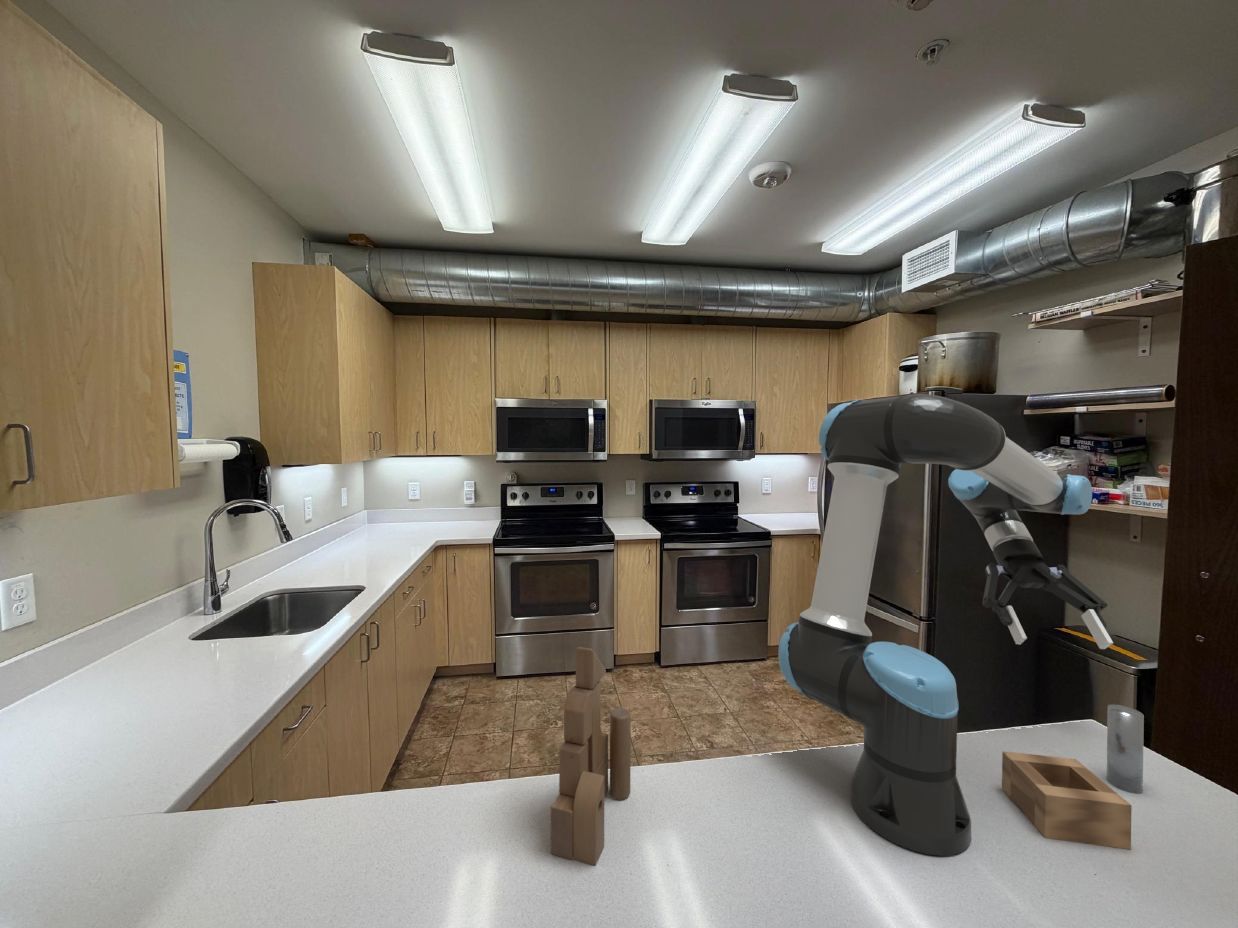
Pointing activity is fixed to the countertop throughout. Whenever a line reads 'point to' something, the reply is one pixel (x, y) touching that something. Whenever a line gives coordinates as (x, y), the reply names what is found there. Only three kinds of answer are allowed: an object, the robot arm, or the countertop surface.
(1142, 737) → the silver metal peg
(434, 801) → the countertop surface
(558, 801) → the wooden toy
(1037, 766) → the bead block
